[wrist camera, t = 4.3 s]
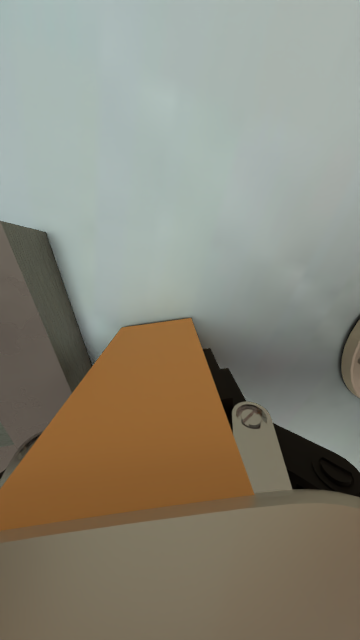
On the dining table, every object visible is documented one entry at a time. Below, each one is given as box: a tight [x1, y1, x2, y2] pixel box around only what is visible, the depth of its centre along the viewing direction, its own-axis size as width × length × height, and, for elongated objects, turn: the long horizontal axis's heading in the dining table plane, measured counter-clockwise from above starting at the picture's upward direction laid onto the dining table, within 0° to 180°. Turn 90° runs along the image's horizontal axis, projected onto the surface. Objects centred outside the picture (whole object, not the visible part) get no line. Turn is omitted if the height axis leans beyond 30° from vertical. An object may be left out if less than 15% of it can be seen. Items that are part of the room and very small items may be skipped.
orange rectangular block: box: [0, 318, 255, 531], centre depth 8 cm, size 5×5×10 cm
